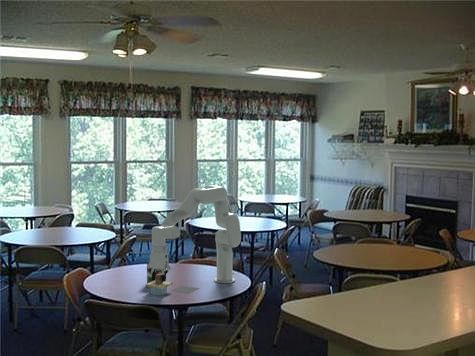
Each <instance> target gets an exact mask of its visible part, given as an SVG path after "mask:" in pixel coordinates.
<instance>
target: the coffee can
mask: <svg viewBox="0 0 475 356" xmlns="http://www.w3.org/2000/svg"><path fill="white" fill-rule="evenodd" d="M149 263H150V259H148V260H146V284H148V283H150V282H152V273H151V272H150V270H149V269H148V267H147V265H148V264H149ZM155 272H156V274H162V270H159V269H156V271H155ZM154 281H155V280H154Z"/></svg>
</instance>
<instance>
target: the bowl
mask: <svg viewBox="0 0 475 356" xmlns="http://www.w3.org/2000/svg"><path fill="white" fill-rule="evenodd" d="M150 294H151V295H153V296H162V295H167V294H168V287H166V288H163V289H159V288H152V287H150Z"/></svg>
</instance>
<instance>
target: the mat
mask: <svg viewBox="0 0 475 356" xmlns="http://www.w3.org/2000/svg"><path fill="white" fill-rule="evenodd" d="M199 289H200V288H199V287H194V286H186V285H181V286H179V287H176V288H174V289H172V290H171V292H174V293H175V292H176V293H182V294H183V293H184V294H189V295H190V294H191V293H193V292H195V291H197V290H199Z"/></svg>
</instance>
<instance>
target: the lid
mask: <svg viewBox="0 0 475 356" xmlns="http://www.w3.org/2000/svg"><path fill="white" fill-rule="evenodd" d="M162 275H163V274H156V275H155V281H152V282H150V283H148V284H147V283H145V284H144V286H145V288H146V287H147V288H151V287H152V288H159V289H163V288H166V287H167V288H168V287H171V286H172V285H174V284H173V281H168V280H166V281H164V282H162Z"/></svg>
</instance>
